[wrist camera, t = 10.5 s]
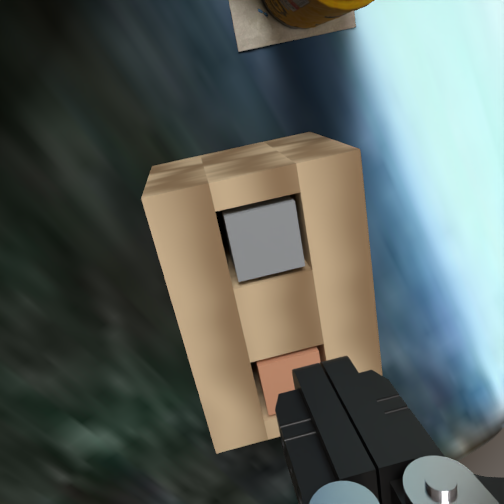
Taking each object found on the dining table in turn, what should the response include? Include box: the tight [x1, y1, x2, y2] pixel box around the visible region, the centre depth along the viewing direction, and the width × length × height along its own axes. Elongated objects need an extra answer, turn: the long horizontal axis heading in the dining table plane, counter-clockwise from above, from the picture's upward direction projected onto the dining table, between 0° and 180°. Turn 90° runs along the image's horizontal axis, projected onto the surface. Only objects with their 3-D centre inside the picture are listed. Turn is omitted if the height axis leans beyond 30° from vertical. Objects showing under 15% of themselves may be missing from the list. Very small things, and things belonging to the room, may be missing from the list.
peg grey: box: [219, 195, 305, 282], centre depth 29 cm, size 4×4×8 cm
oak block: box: [141, 132, 382, 454], centre depth 32 cm, size 12×18×10 cm, turn 11°
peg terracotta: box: [254, 346, 320, 415], centre depth 32 cm, size 4×4×8 cm
